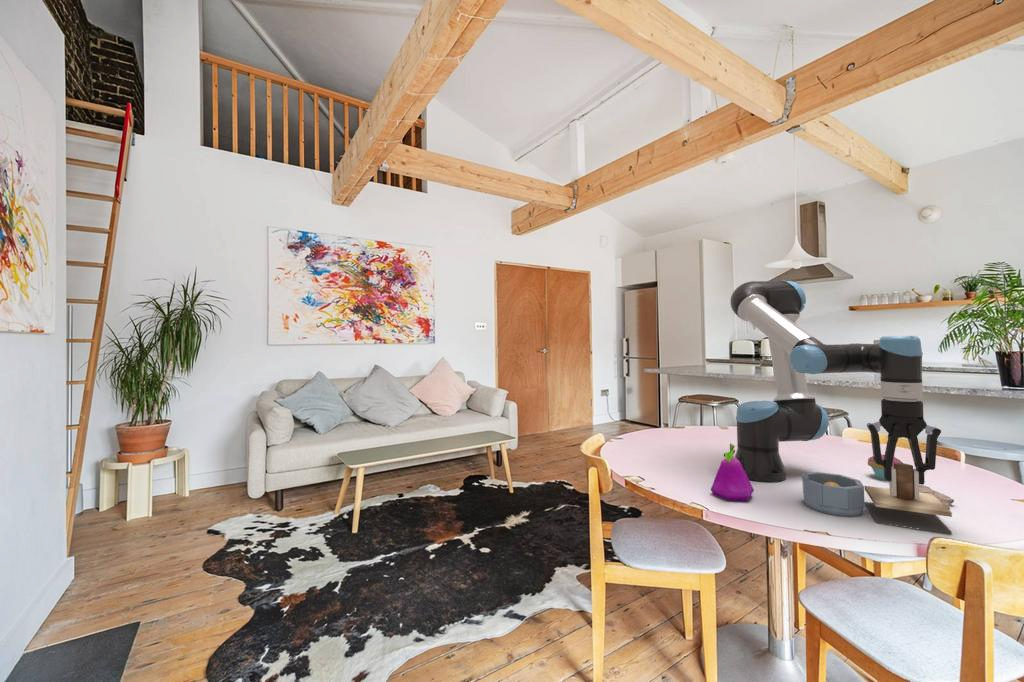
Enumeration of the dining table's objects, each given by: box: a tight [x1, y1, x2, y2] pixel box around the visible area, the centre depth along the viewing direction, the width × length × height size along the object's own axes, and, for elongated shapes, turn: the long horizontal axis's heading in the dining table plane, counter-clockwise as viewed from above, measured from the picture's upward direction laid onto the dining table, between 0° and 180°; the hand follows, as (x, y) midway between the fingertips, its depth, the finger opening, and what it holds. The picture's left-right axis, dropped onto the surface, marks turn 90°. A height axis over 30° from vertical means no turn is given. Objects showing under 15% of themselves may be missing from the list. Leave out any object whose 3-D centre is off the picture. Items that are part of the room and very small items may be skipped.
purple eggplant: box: [710, 443, 755, 502], centre depth 120 cm, size 11×11×15 cm
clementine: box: [824, 482, 839, 486], centre depth 111 cm, size 4×4×4 cm
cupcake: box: [867, 453, 903, 481], centre depth 131 cm, size 9×8×12 cm
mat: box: [864, 501, 953, 535], centre depth 103 cm, size 13×13×1 cm
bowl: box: [801, 471, 866, 518], centre depth 111 cm, size 12×12×7 cm
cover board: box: [864, 462, 953, 518], centre depth 103 cm, size 13×13×9 cm
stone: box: [919, 484, 955, 510], centre depth 115 cm, size 12×12×3 cm
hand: (904, 495), depth 103 cm, fingers closed on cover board, 3 cm apart
